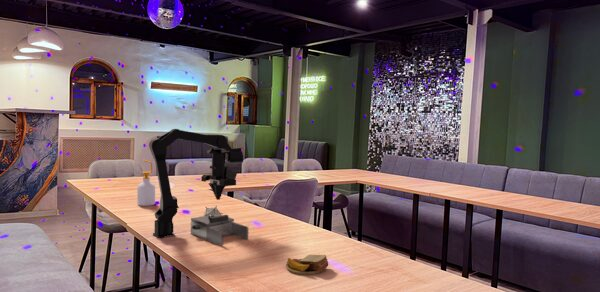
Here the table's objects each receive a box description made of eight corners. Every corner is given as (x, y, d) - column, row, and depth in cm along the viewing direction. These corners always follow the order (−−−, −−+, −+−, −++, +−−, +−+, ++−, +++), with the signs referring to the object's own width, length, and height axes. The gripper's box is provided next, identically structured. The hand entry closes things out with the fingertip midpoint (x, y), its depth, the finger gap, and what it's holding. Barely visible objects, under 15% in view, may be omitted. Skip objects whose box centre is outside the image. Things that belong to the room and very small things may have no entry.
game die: (207, 232, 189) (194, 215, 188) (218, 222, 196) (206, 205, 195) (218, 226, 184) (205, 208, 183) (229, 215, 191) (216, 198, 190)
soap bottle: (136, 203, 231) (136, 159, 229) (154, 202, 235) (154, 158, 233) (138, 206, 223) (138, 160, 221) (155, 205, 227) (156, 160, 225)
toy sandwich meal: (300, 260, 145) (301, 246, 144) (334, 269, 137) (334, 254, 136) (277, 270, 135) (278, 255, 134) (312, 280, 127) (312, 265, 126)
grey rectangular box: (216, 246, 156) (216, 233, 156) (186, 234, 172) (186, 222, 171) (252, 238, 168) (252, 225, 168) (221, 227, 184) (221, 216, 183)
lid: (206, 226, 164) (206, 219, 164) (191, 220, 173) (191, 214, 173) (233, 221, 173) (234, 214, 173) (217, 216, 182) (217, 209, 182)
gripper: (246, 164, 178) (246, 200, 179) (222, 160, 191) (221, 194, 192) (224, 166, 170) (224, 204, 171) (200, 162, 184) (200, 197, 185)
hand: (218, 199), depth 180 cm, fingers closed
